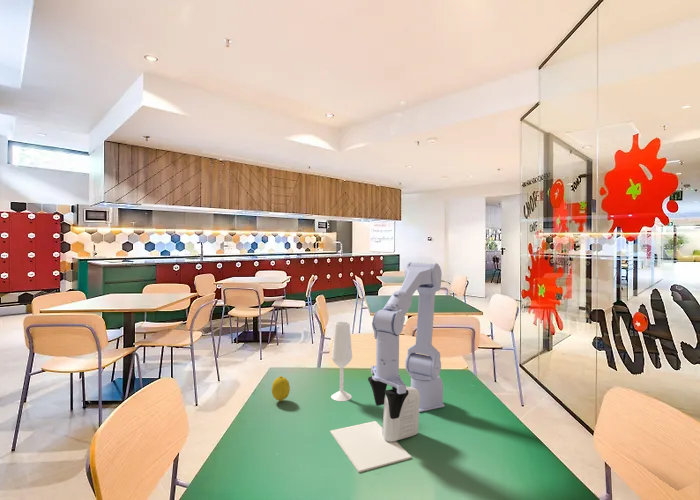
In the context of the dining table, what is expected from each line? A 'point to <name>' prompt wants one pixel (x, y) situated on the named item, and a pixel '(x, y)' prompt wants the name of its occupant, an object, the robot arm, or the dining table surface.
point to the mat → (368, 446)
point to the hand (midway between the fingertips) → (387, 411)
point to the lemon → (280, 388)
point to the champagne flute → (341, 355)
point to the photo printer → (402, 418)
